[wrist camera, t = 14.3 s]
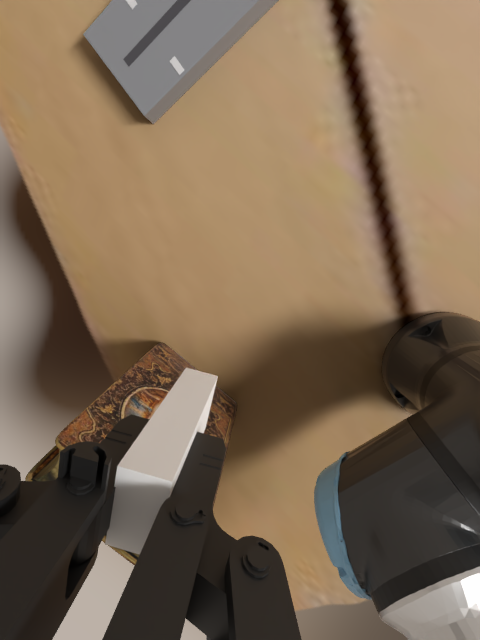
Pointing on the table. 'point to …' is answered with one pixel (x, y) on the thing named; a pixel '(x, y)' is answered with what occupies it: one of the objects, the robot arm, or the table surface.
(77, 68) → the table surface
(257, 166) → the table surface
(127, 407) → the book
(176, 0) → the fader console
